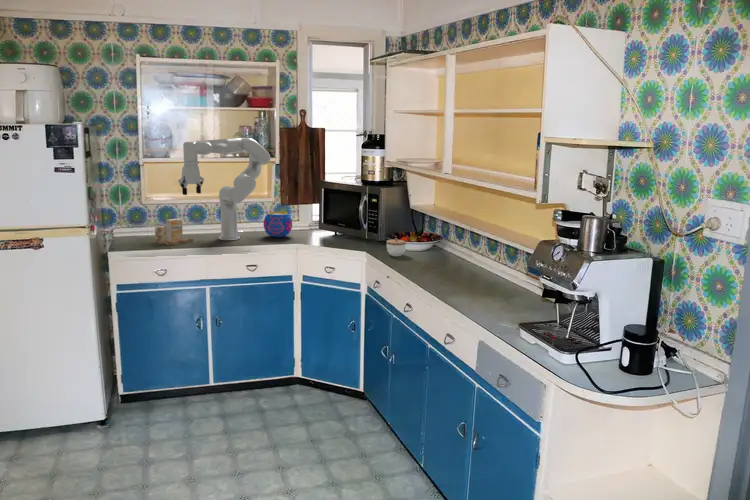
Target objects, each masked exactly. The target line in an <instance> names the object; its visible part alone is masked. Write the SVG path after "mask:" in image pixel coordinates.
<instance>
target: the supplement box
mask: <svg viewBox="0 0 750 500" xmlns="http://www.w3.org/2000/svg"><path fill="white" fill-rule="evenodd" d="M165 226H166V242H173V241H179V240H183V239H184V238H183V237H184V236H183V219H182V218H178V217H177V218H170V219H165Z"/></svg>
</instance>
